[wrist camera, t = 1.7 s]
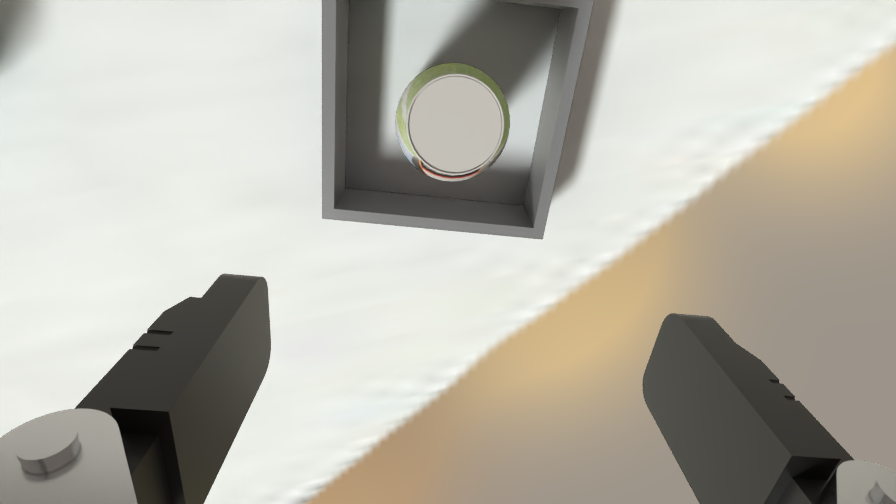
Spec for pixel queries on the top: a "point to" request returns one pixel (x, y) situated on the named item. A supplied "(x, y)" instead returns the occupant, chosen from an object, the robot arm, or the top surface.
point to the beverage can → (452, 122)
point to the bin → (439, 210)
